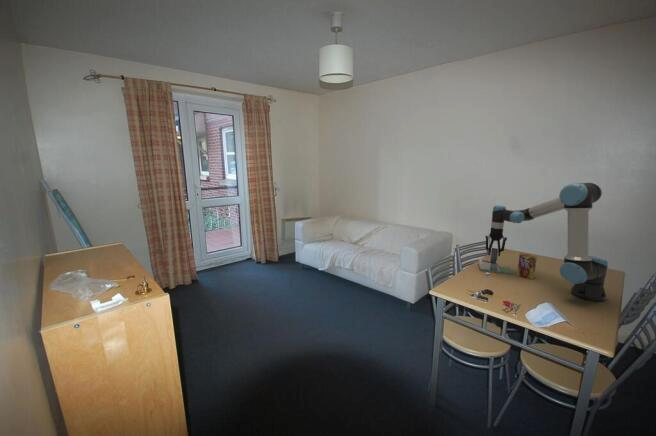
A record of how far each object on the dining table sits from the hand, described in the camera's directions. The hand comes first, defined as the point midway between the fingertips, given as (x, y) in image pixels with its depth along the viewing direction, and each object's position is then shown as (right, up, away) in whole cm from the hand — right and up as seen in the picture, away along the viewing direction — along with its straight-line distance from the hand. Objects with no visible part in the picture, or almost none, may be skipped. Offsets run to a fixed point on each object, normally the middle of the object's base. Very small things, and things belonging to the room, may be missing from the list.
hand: (493, 259), depth 207 cm
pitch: (+1, -7, +1) cm, 7 cm away
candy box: (+15, -10, -12) cm, 21 cm away
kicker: (0, -6, +1) cm, 6 cm away
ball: (-5, -4, +3) cm, 7 cm away
